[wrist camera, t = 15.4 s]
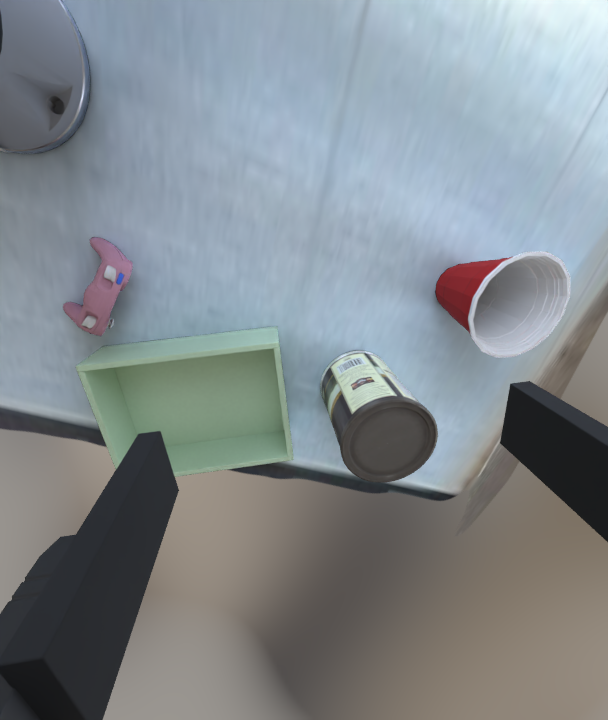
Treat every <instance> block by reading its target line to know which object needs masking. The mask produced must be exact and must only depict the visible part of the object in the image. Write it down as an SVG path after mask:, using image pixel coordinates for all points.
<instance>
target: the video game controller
mask: <svg viewBox="0 0 608 720" xmlns="http://www.w3.org/2000/svg"><path fill="white" fill-rule="evenodd" d="M90 244H91V246H92V248H93V249H94V250H95V251H96V252H97V253H98V254H99V256H100V257H101V259H102V262H101V265H100V266H99V268H98V270H97V273H96V275H95V278H94V280H93V282H92V283H91V284H90V285H89V286H88V287H87V289H86V290H85V293H84V299H83V303H84V304H83V306H81V305H79V304H76V303H73V302H67V303H65V304H64V305H63V309H64V311H65V313H66V314H67V315H68V316H69V317H70V318H71V319H72V320H73V321H74V322H75V323H76V325H77V326H78V327H80V328H81V329H83V330H84V331H87V332H89V333H90V334H94V335H98V336H102V334H103V333H104V332H105V330H106V328H107V327H108V326H109V329H110V328H111V327H112V326H113V325H114V320H113V319H111V321H110V314H111V310H112V308H113V306H114V304H115V301H116V299H117V297H118V294H119V292H120V291H122V290H123V289H124V288H125V286H126V285H127V283H128V281H129V278H130V275H131V272H132V267H133V263H132V262H131V261H129V260H127V258H126V257H125V256H124V255H123V253H122V252H121V251H120V250H119V249H118V248H117V247H116V246H114V245H113V244H111V243H110V242H108V241H106V240H105V239H102V238H98V237H93V238H91V239H90Z"/></svg>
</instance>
